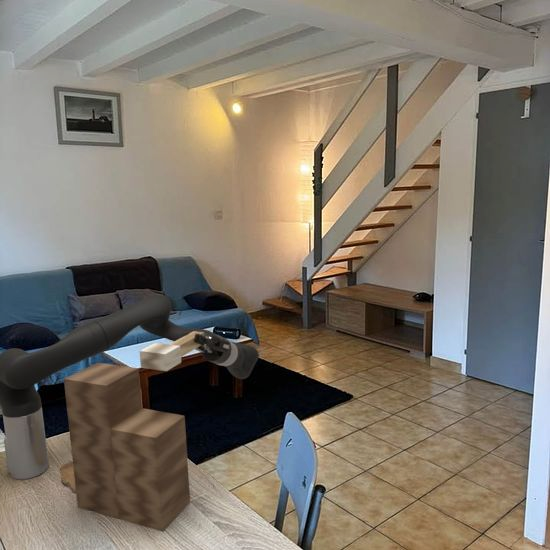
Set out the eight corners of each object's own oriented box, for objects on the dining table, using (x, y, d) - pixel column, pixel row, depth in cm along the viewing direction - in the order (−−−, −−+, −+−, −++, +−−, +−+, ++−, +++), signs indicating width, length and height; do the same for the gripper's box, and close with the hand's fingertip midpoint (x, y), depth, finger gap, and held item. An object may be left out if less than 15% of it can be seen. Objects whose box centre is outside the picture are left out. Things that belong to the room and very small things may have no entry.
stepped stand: (77, 507, 122) (63, 378, 116) (109, 482, 132) (97, 362, 126) (163, 531, 113) (152, 393, 107) (190, 502, 123) (181, 374, 117)
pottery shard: (64, 498, 127) (64, 491, 126) (58, 467, 140) (57, 461, 140) (98, 488, 130) (97, 482, 130) (88, 459, 144) (88, 454, 144)
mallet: (140, 367, 119) (139, 350, 118) (187, 341, 137) (187, 326, 136) (166, 371, 116) (165, 354, 115) (211, 344, 134) (210, 329, 133)
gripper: (201, 335, 150) (169, 320, 134) (244, 340, 144) (217, 324, 129) (195, 361, 147) (162, 348, 132) (239, 366, 142) (211, 354, 127)
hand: (189, 336), depth 131 cm, fingers closed on mallet, 3 cm apart
